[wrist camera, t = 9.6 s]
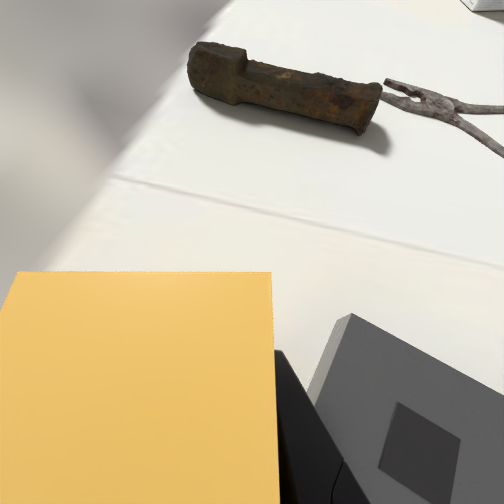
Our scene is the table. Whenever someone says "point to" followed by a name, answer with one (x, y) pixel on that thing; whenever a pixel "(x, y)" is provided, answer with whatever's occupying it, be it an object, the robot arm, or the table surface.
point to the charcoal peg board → (408, 420)
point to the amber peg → (138, 389)
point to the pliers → (443, 110)
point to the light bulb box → (484, 5)
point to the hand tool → (280, 86)
